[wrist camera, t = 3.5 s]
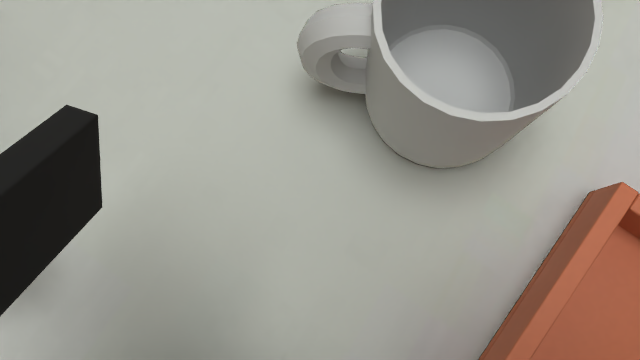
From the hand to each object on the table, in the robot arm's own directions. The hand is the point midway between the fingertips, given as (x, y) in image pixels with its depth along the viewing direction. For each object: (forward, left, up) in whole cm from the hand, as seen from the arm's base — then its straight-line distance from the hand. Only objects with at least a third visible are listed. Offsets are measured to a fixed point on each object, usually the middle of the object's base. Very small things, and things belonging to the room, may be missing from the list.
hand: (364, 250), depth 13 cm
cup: (+2, -8, -14) cm, 16 cm away
